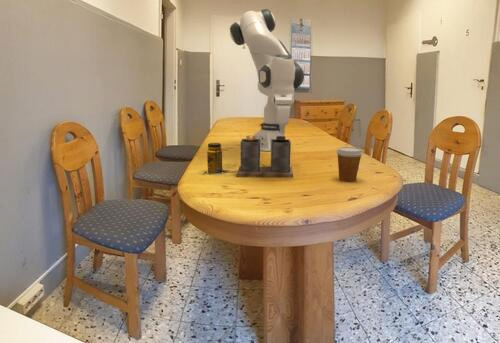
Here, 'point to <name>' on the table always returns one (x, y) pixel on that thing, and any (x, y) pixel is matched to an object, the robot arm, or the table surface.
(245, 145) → the stand
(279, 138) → the plunger right
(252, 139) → the plunger left
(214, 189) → the table surface
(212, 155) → the condiment
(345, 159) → the disposable coffee cup
